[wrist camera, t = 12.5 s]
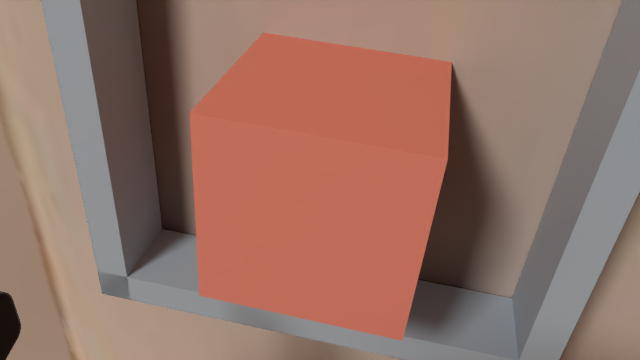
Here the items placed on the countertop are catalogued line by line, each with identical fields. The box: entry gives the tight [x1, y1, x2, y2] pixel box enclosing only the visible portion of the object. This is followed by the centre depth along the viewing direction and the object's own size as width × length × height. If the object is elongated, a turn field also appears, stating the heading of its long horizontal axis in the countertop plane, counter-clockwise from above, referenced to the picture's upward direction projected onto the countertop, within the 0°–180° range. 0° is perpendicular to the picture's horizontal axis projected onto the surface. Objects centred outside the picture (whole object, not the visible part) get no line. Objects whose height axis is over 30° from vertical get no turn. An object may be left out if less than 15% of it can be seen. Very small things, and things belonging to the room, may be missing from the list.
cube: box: [190, 33, 452, 341], centre depth 14 cm, size 5×5×5 cm
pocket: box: [41, 0, 640, 360], centre depth 15 cm, size 14×12×2 cm
